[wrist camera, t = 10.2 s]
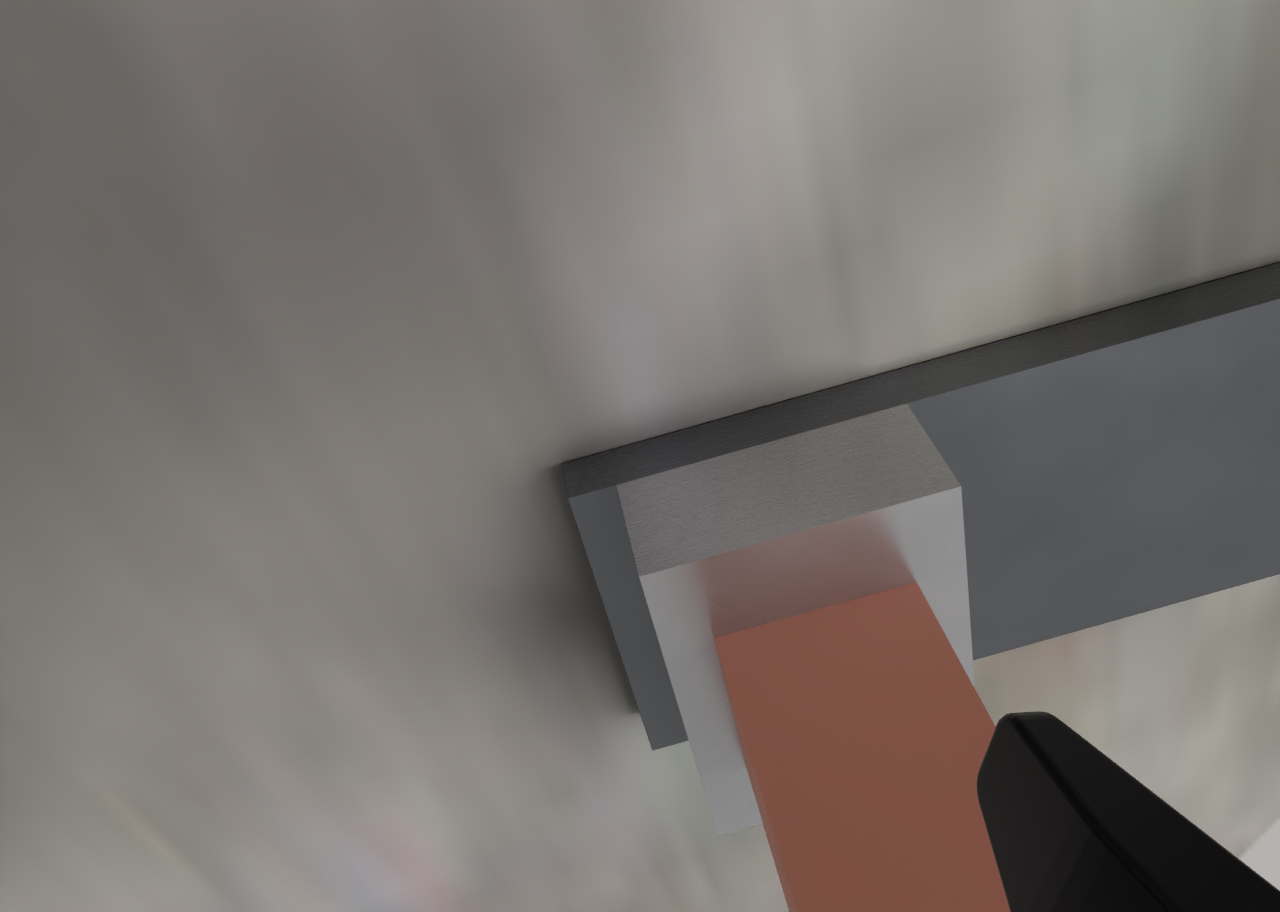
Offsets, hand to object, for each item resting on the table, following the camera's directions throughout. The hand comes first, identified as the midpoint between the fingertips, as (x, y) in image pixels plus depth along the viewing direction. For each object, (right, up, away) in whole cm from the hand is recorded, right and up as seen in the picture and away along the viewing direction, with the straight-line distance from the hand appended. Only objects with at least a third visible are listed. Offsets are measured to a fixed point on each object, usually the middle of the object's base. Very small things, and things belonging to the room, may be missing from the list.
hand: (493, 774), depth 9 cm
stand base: (+8, +2, +17) cm, 19 cm away
